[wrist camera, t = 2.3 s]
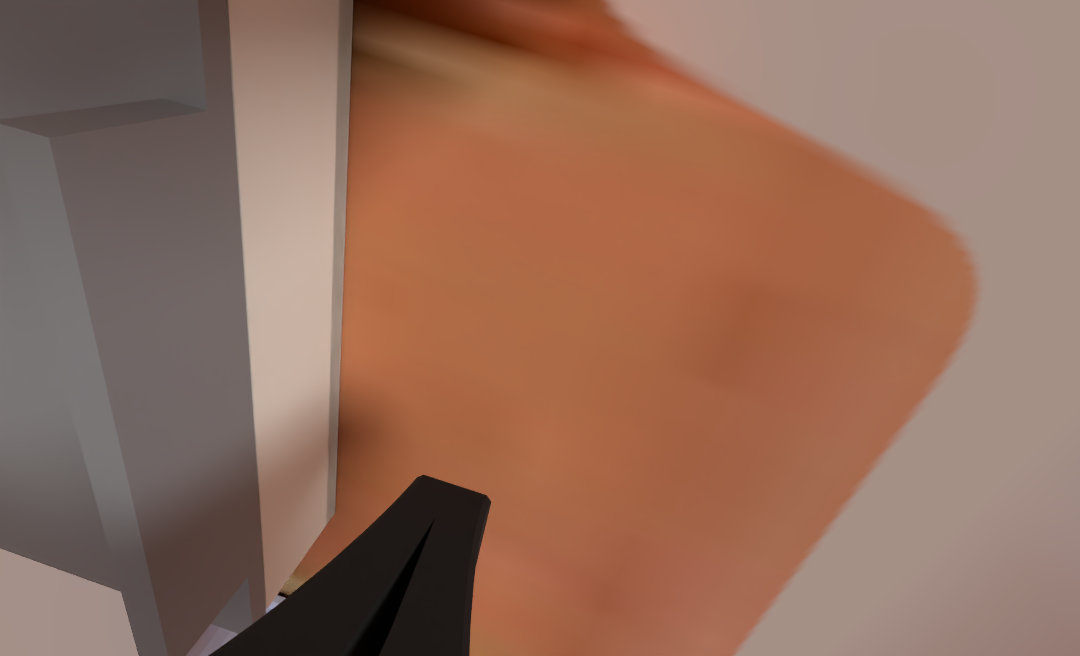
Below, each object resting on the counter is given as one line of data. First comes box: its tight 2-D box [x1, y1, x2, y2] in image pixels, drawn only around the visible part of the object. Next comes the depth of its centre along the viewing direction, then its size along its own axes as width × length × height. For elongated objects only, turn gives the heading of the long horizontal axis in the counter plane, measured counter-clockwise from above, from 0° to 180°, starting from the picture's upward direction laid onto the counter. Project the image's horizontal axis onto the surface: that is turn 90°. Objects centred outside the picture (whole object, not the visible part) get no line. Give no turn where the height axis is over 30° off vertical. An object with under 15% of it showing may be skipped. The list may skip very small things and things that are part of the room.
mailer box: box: [226, 0, 353, 610], centre depth 15 cm, size 18×14×4 cm
